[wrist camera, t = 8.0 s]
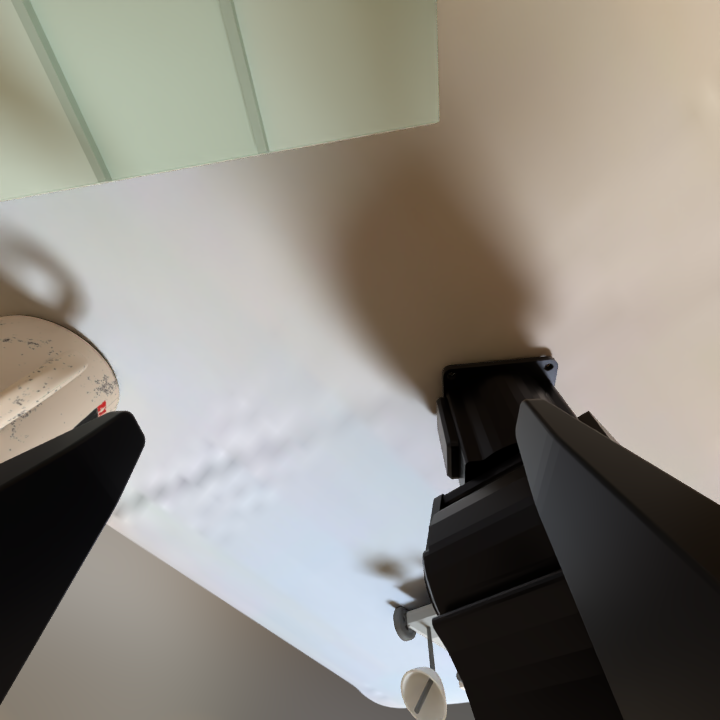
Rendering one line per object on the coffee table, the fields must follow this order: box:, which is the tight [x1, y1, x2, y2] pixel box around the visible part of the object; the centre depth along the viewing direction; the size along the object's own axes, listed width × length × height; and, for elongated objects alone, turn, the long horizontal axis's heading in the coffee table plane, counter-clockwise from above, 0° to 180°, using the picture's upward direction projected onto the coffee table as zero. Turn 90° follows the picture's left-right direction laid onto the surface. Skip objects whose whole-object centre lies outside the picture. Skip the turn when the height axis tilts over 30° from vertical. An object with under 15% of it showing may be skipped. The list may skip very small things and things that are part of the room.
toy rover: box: [393, 603, 465, 720], centre depth 33 cm, size 18×10×12 cm
